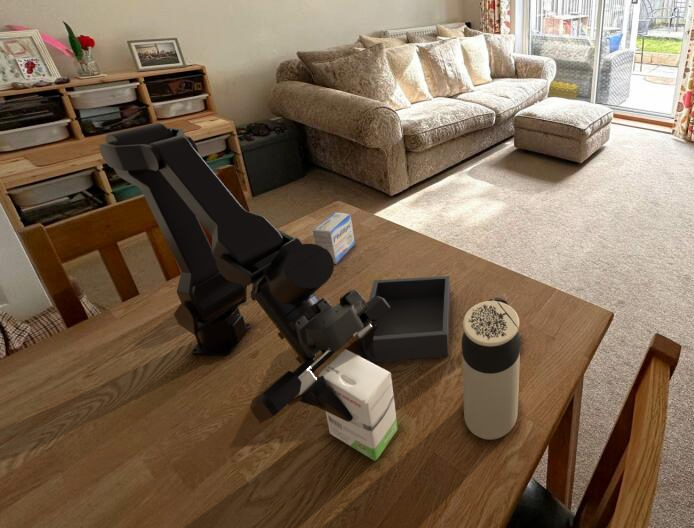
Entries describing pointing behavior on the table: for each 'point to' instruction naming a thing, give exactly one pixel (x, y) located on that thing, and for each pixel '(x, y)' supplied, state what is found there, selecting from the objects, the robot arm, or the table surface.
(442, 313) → the open storage tray
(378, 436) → the ink box
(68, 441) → the table surface
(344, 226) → the medicine box
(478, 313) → the travel mug
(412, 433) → the table surface
